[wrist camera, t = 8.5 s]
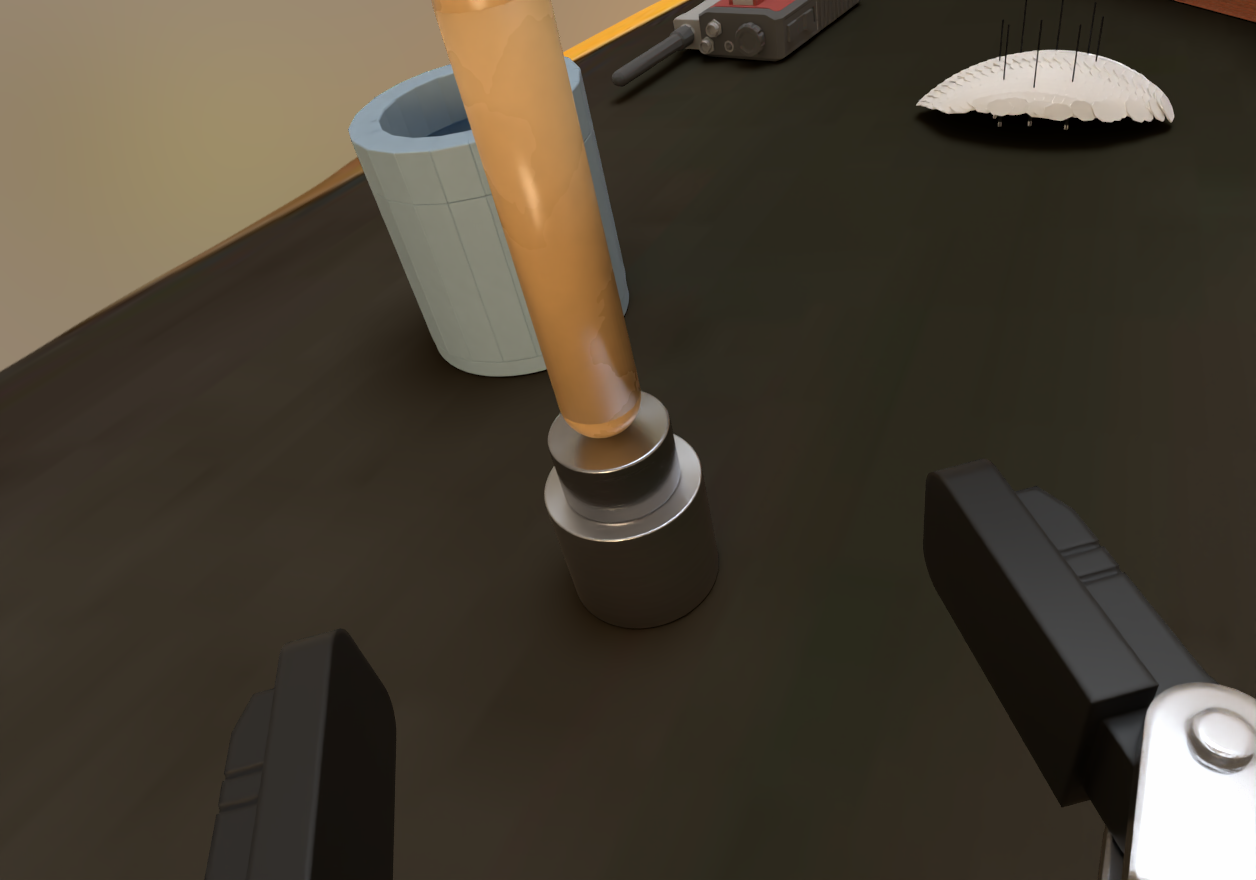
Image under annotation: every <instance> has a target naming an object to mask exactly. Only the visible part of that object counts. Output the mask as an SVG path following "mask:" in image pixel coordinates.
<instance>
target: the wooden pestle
mask: <svg viewBox="0 0 1256 880" xmlns="http://www.w3.org/2000/svg"><path fill="white" fill-rule="evenodd" d="M432 6H433V9H434V12H435V15H436V19H437V22H438V25H439V28H440V31H441V34H442V37H443V41H444V44H445V47H446V50H447V53H448V57H449V60H450V63H451V66H452V69H453V73H454V76H455V79H456V82H457V85H458V88H459V92H460V95H461V98H462V101H463V104H464V108H465V111H466V114H467V117H468V120H469V123H470V127H471V130H472V133H473V136H474V139H475V142H476V146H477V149H478V152H479V155H480V158H481V162H482V165H483V168H484V171H485V174H486V177H487V181H488V184H489V187H490V190H491V193H492V196H493V200H494V203H495V206H496V209H497V212H498V215H499V219H500V222H501V225H502V228H503V231H504V235H505V238H506V241H507V244H508V247H509V250H510V254H511V257H512V260H513V263H514V266H515V269H516V273H517V276H518V279H519V282H520V285H521V289H522V292H523V295H524V298H525V301H526V304H527V308H528V311H529V314H530V317H531V320H532V323H533V327H534V330H535V333H536V336H537V339H538V342H539V346H540V349H541V352H542V355H543V358H544V362H545V365H546V368H547V371H548V374H549V377H550V381H551V384H552V387H553V390H554V393H555V396H556V400H557V403H558V406H559V409H560V412H561V413H560V414H559V415H558V416H557V417H556V419H555V420H554V422H553V423H552V425H551V427H550V430H549V434H548V448H549V452H550V454H551V457H552V460H553V463H554V467H553V469H552V470H551V472H550V474H549V476H548V478H547V482H546V485H545V491H544V500H545V505H546V509H547V512H548V514H549V517H550V520H551V523H552V525H553V528H554V531H555V534H556V536H557V539H558V542H559V545H560V547H561V550H562V553H563V556H564V558H565V561H566V564H567V567H568V569H569V572H570V575H571V578H572V580H573V583H574V586H575V589H576V591H577V594H578V596H579V598H580V600H581V602H582V603H583V605H584V606H585V607H586V608H587V609H588V610H589V612H591V613H592V614H593V615H594V616H596V617H597V618H599V619H601V620H603V621H604V622H607V623H609V624H612V625H615V626H619V627H625V628H650V627H655V626H660V625H663V624H667V623H670V622H672V621H674V620H677V619H679V618H681V617H682V616H684V615H686V614H687V613H689V612H690V611H692V610H693V609H694V608H696V607H697V606H698V605H699V604H700V603H701V602H702V601H703V600H704V598H705V597H706V596H707V595H708V593H709V592H710V590H711V588H712V587H713V585H714V582H715V580H716V577H717V573H718V567H719V559H718V552H717V546H716V541H715V535H714V530H713V525H712V519H711V514H710V508H709V503H708V498H707V492H706V487H705V482H704V476H703V471H702V466H701V462H700V459H699V457H698V455H697V453H696V452H695V450H694V449H693V448H692V446H691V445H689V444H688V443H687V442H686V441H685V440H684V439H682V438H681V437H679V436H677V435H676V434H674V433H673V430H672V425H671V420H670V416H669V413H668V411H667V409H666V407H665V406H664V404H663V403H662V402H661V401H660V400H659V399H657V398H656V397H654V396H653V395H651V394H649V393H646V392H643V391H641V389H640V384H639V380H638V376H637V371H636V367H635V362H634V358H633V354H632V349H631V345H630V341H629V336H628V332H627V328H626V323H625V319H624V315H623V310H622V306H621V302H620V297H619V293H618V289H617V284H616V280H615V276H614V271H613V267H612V263H611V258H610V254H609V250H608V245H607V241H606V237H605V232H604V228H603V224H602V219H601V215H600V211H599V206H598V202H597V198H596V193H595V189H594V185H593V180H592V176H591V172H590V167H589V163H588V159H587V154H586V150H585V146H584V141H583V137H582V133H581V128H580V124H579V120H578V115H577V111H576V107H575V102H574V98H573V94H572V89H571V85H570V81H569V76H568V72H567V68H566V63H565V59H564V55H563V50H562V46H561V42H560V37H559V33H558V29H557V25H556V20H555V16H554V11H553V7H552V3H551V0H432Z"/></svg>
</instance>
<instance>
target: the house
mask: <svg viewBox="0 0 1256 880" xmlns="http://www.w3.org/2000/svg"><path fill="white" fill-rule="evenodd" d="M1174 1H1178V2H1182V3H1186V4H1189V5H1193V6H1197V7H1201V8H1205V9H1208V10H1212V11H1216V12H1220V13H1223V14H1227V15H1231V16H1235V17H1238V18H1242V19H1246V20H1250V21H1253V22H1256V0H1174Z"/></svg>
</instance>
